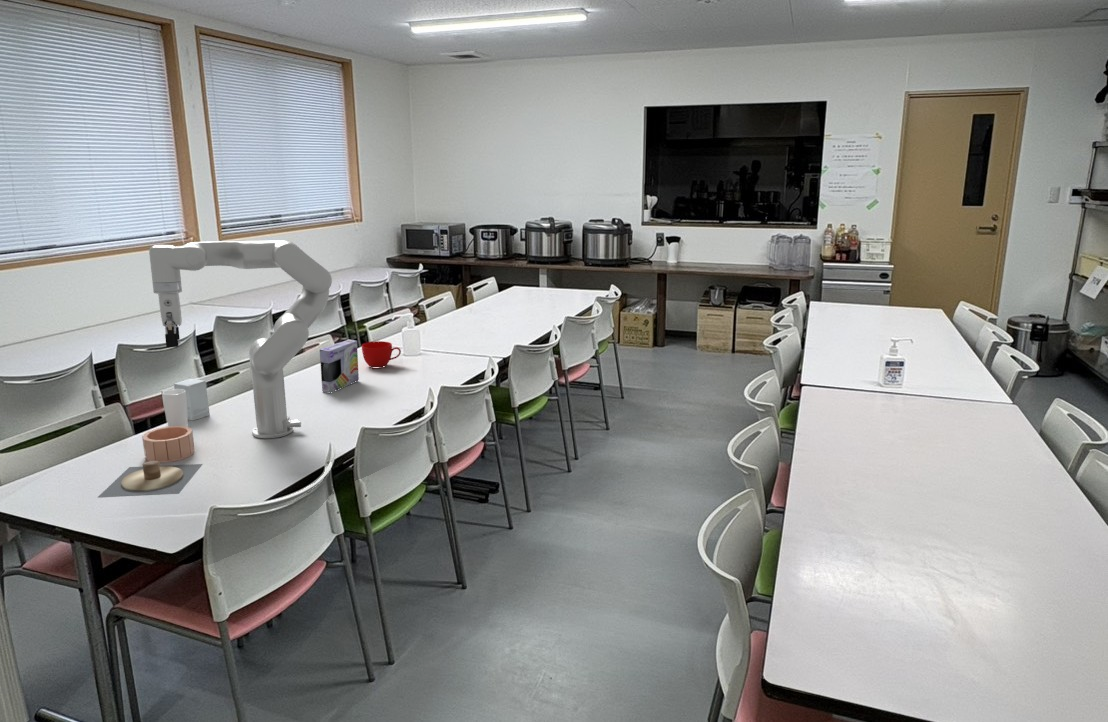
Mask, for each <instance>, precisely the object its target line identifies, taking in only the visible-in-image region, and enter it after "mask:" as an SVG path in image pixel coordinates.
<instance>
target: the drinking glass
mask: <svg viewBox="0 0 1108 722" xmlns="http://www.w3.org/2000/svg"><path fill="white" fill-rule="evenodd" d="M161 394H162V403H163V408H164V413H165V418H166V422H167V427H168V426H169V427H170V426H184V427H189V421H188V411H187V396H186V391H185V390H184V389H174V388H172V389H167V390H165V391H163V392H162V393H161Z"/></svg>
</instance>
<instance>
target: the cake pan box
mask: <svg viewBox="0 0 1108 722" xmlns="http://www.w3.org/2000/svg"><path fill="white" fill-rule="evenodd" d="M358 355H359V354H358V340H354V339H349V338H348V339H346V340H344V341H341V342H336V343H334V344H331V345H329V346H326V347H323V348H320V349H319V358H320V359H319V360H320V376H321V381H320V382H321V390H322V391H323V392H322V391H321V392H322V393H325V392H330V393H329V394H332V393H331V392H333V391H335V390H338V389H340V388H342V387H344V388H346V387H348V386H347V385H349V384H351V383H353V382H355V381H357V382H359V381H360V377H359V356H358ZM358 380H359V381H358ZM355 383H356V382H355ZM353 384H354V383H353ZM351 385H352V384H351ZM345 386H346V387H345ZM349 386H350V385H349ZM342 389H343V388H342ZM340 390H341V389H340ZM338 391H339V390H338ZM335 392H336V391H335ZM333 393H334V392H333Z"/></svg>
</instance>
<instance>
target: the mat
mask: <svg viewBox="0 0 1108 722" xmlns="http://www.w3.org/2000/svg"><path fill="white" fill-rule="evenodd" d="M164 466H171V467H177V468H180V469H181V470H182V471H183V477H182V479H181V480H179V481H178V482H176V483H174V484H172V485H170V486H167V487H164V488H160V489H156V490H150V491H130V490H126V489H124V488H123V487H122V484H121V481H122V479H123V478H124V477H126V476H127V475H129V474H131V473H133V472H136V471H139V470H142V469H143V465H142V466H129V467H128V468H127V469H126V470H125V471H124V472H123V473H121V475H119V476H118V477H117V478H116V479H115V480H114V481H113V482H111V483H110V484H109V486H108V487H107V488H106V489H105V490H103V491H102V492H101V493H100V494H99V495H98V496H97V498H114V497H115V498H116V497H118V498H119V497H136V496H137V497H138V496H153V495H154V496H156V495H159V496H160V495H175V494H176V495H177V494H180V493H181V491H182V490H183V489H184V488H185V487H186V485H187V484H188V483H189V482H190V481H191V479H192V478H193V477H194V476H195V474H196V473H197V472H198V471H199V470H200V468H201V467H202V466H203V463H195V464H194V463H192V464H191V463H190V464H171V465H170V464H168V465H167V464H165V465H164Z"/></svg>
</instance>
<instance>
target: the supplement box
mask: <svg viewBox="0 0 1108 722" xmlns="http://www.w3.org/2000/svg"><path fill="white" fill-rule="evenodd" d="M173 387H174V388H173V389H184V390H185V391H186V396H187V411H188V420H189V421H195V420H198V419H201V418H206V417H207V416H210V407H209V397H208V391H207V390H208V389H207V382H206V380H202V379H196V378H192V377H191V378H188V379H185V380H182V381H181V380H180V381H178V382H175V383H173Z"/></svg>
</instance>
